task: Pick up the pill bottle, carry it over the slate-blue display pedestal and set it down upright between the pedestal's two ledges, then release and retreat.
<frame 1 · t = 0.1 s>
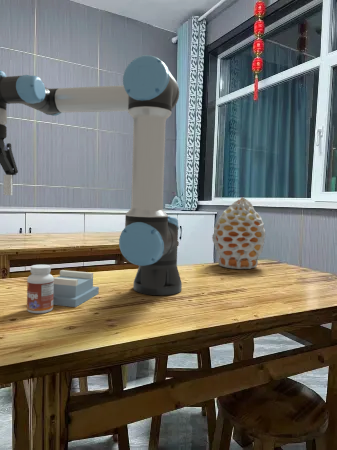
pill bottle: (40, 310, 91), on the table
sculpture: (236, 267, 157), on the table
pedestal: (68, 297, 102), on the table
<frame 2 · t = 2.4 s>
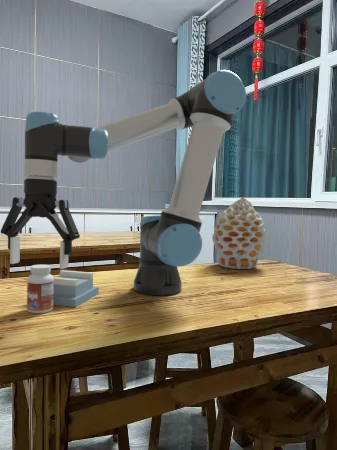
hand: (38, 265, 90), 11 cm above the table, fingers open, 13 cm apart
nothing on the table moved.
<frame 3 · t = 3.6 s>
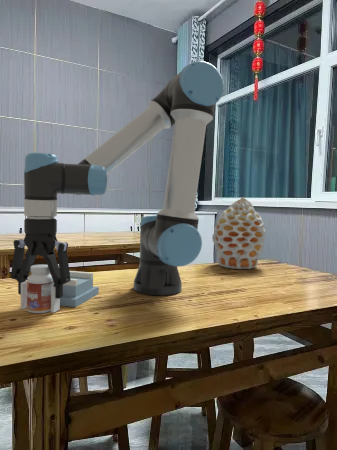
hand: (40, 309, 91), 0 cm above the table, fingers open, 8 cm apart
nothing on the table moved.
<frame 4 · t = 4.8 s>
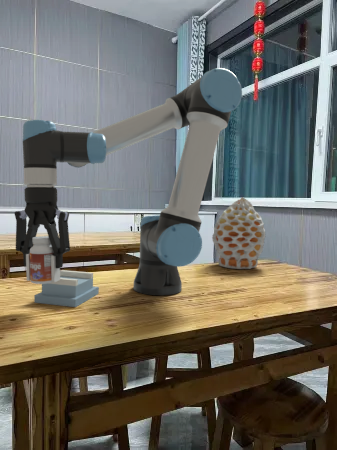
hand: (43, 280, 90), 8 cm above the table, fingers closed on pill bottle, 6 cm apart
pill bottle: (43, 282, 90), point 7 cm above the table, touching gripper
everything else where it was.
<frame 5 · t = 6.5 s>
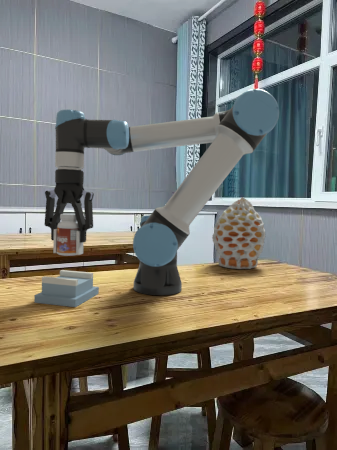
hand: (68, 253, 101), 13 cm above the table, fingers closed on pill bottle, 6 cm apart
pill bottle: (68, 254, 101), point 12 cm above the table, touching gripper
everything else where it was.
when the fingers open (6 cm above the table, at t = 8.2 s): pill bottle drops 1 cm, resting on pedestal.
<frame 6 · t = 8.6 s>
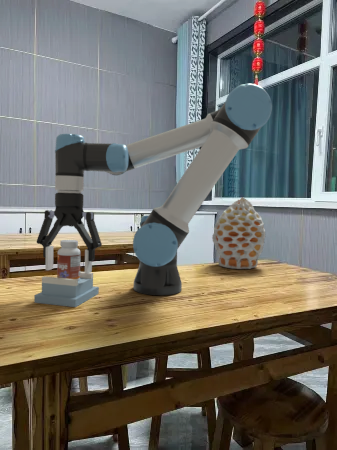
hand: (68, 271, 102), 8 cm above the table, fingers open, 11 cm apart
pill bottle: (68, 280, 102), point 5 cm above the table, touching pedestal
everything else where it was.
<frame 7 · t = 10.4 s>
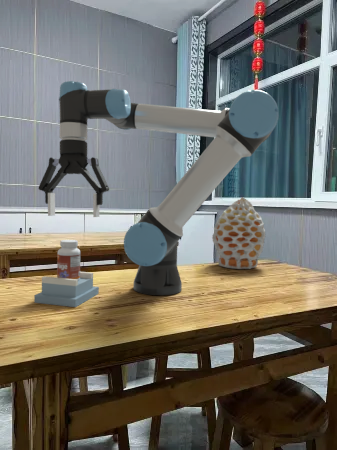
hand: (73, 216, 104), 23 cm above the table, fingers open, 13 cm apart
nothing on the table moved.
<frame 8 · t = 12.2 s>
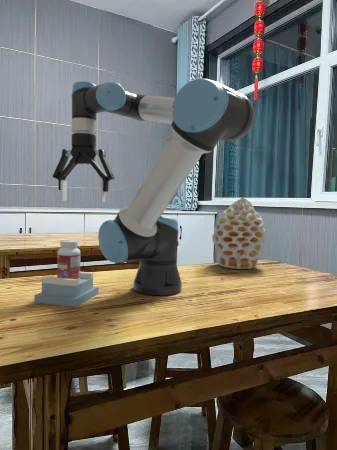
hand: (82, 201, 117), 27 cm above the table, fingers open, 13 cm apart
nothing on the table moved.
at the end: pill bottle 0.1 cm off-centre on the pedestal, point 4.8 cm above the pedestal's base; pill bottle tilted 0°; the gripper is holding nothing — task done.
